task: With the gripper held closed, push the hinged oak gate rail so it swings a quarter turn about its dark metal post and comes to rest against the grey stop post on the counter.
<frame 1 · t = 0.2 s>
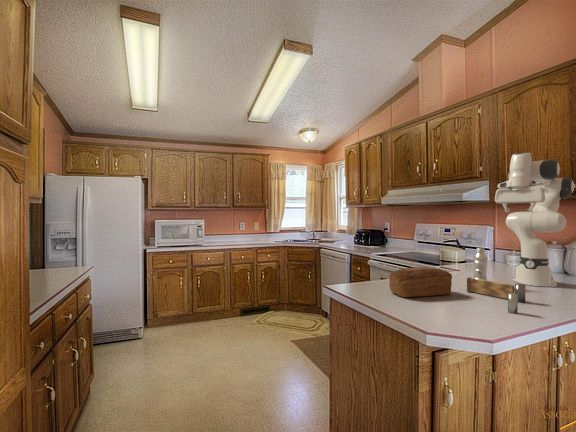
hand: (518, 212, 151), 39 cm above the countertop, tool pointing down, fingers open, 8 cm apart
pivot post: (519, 301, 131), on the countertop
gate: (489, 288, 140), point 3 cm above the countertop, hinge at 0.0°
stop post: (512, 312, 117), on the countertop
bread: (420, 294, 143), on the countertop
plastic bottle: (480, 287, 158), on the countertop
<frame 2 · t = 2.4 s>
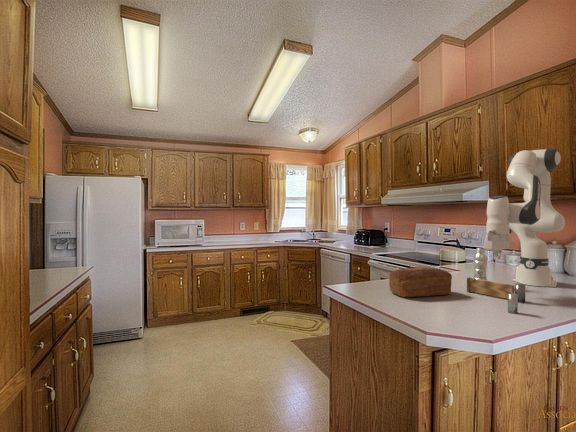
hand: (497, 259, 143), 16 cm above the countertop, tool pointing down, fingers closed
nothing on the countertop moved.
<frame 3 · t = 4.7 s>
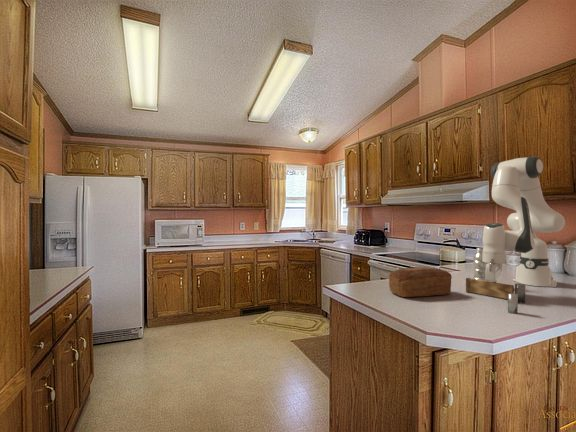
hand: (493, 288, 141), 3 cm above the countertop, tool pointing down, fingers closed
gate: (488, 288, 140), point 3 cm above the countertop, hinge at 3.3°, touching gripper
everything else where it was.
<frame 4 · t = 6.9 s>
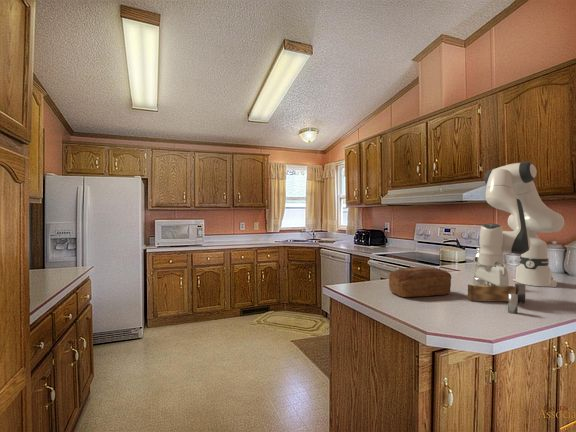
hand: (490, 292, 135), 3 cm above the countertop, tool pointing down, fingers closed
gate: (491, 293, 132), point 3 cm above the countertop, hinge at 50.0°, touching gripper
everything else where it was.
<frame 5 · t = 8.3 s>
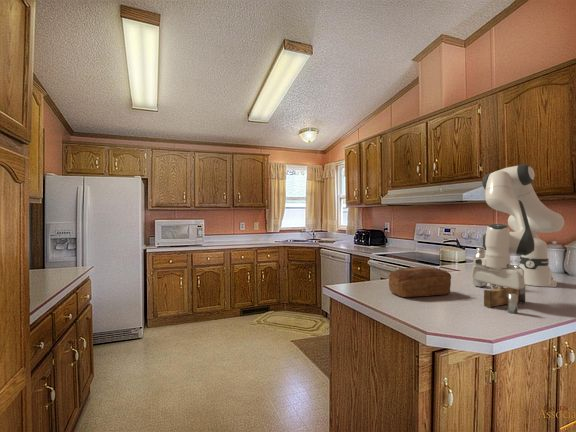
hand: (496, 295, 130), 3 cm above the countertop, tool pointing down, fingers closed
gate: (502, 296, 127), point 3 cm above the countertop, hinge at 76.2°, touching gripper
everything else where it was.
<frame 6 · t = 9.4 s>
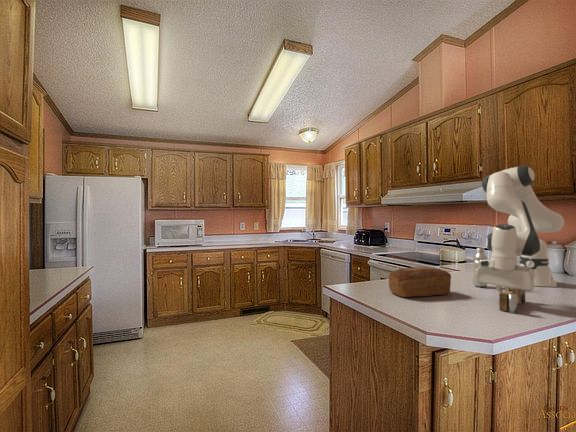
hand: (503, 296, 127), 3 cm above the countertop, tool pointing down, fingers closed
gate: (511, 298, 124), point 3 cm above the countertop, hinge at 92.2°, touching gripper
everything else where it was.
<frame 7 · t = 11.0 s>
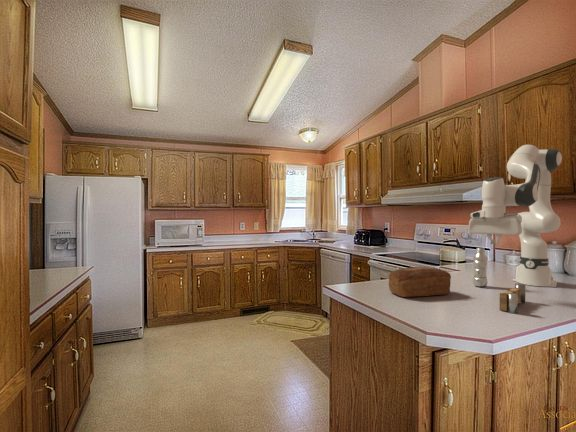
hand: (494, 244, 138), 24 cm above the countertop, tool pointing down, fingers closed
gate: (511, 298, 124), point 3 cm above the countertop, hinge at 92.4°, touching stop post
everything else where it was.
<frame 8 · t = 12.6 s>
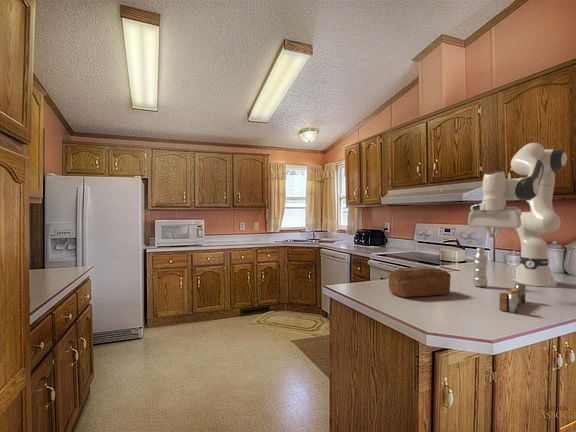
hand: (493, 237, 138), 27 cm above the countertop, tool pointing down, fingers closed
nothing on the countertop moved.
at the end: gate at +92° (first picture: +0°) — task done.
